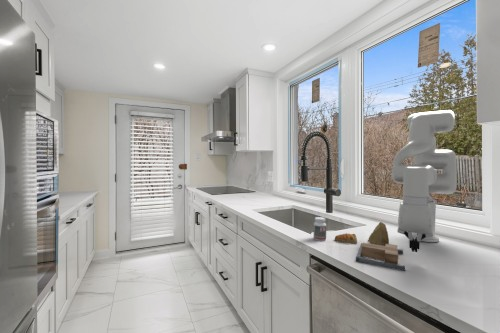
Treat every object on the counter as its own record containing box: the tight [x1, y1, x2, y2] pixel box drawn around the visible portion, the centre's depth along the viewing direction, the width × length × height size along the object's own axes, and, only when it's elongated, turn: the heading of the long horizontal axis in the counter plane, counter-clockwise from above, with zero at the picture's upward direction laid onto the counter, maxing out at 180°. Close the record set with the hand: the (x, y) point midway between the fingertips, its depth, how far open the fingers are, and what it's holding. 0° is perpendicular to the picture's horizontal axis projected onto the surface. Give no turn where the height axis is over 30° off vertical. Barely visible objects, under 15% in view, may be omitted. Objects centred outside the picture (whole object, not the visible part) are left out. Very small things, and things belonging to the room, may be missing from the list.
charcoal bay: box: [355, 242, 406, 272], centre depth 93 cm, size 18×15×2 cm
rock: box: [367, 221, 390, 246], centre depth 106 cm, size 11×9×10 cm
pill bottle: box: [313, 216, 327, 242], centre depth 114 cm, size 6×6×10 cm
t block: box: [361, 242, 399, 264], centre depth 93 cm, size 12×12×4 cm
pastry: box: [334, 232, 358, 245], centre depth 111 cm, size 9×7×4 cm
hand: (414, 250), depth 88 cm, fingers closed
